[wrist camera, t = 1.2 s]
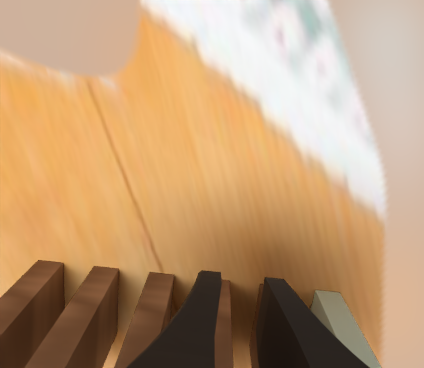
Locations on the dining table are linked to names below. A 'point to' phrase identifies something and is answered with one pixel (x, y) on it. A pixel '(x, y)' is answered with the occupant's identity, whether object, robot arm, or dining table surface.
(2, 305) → the domino
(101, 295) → the domino
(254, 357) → the domino
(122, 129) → the dining table surface
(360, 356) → the domino
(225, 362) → the domino
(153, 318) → the domino
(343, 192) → the dining table surface
